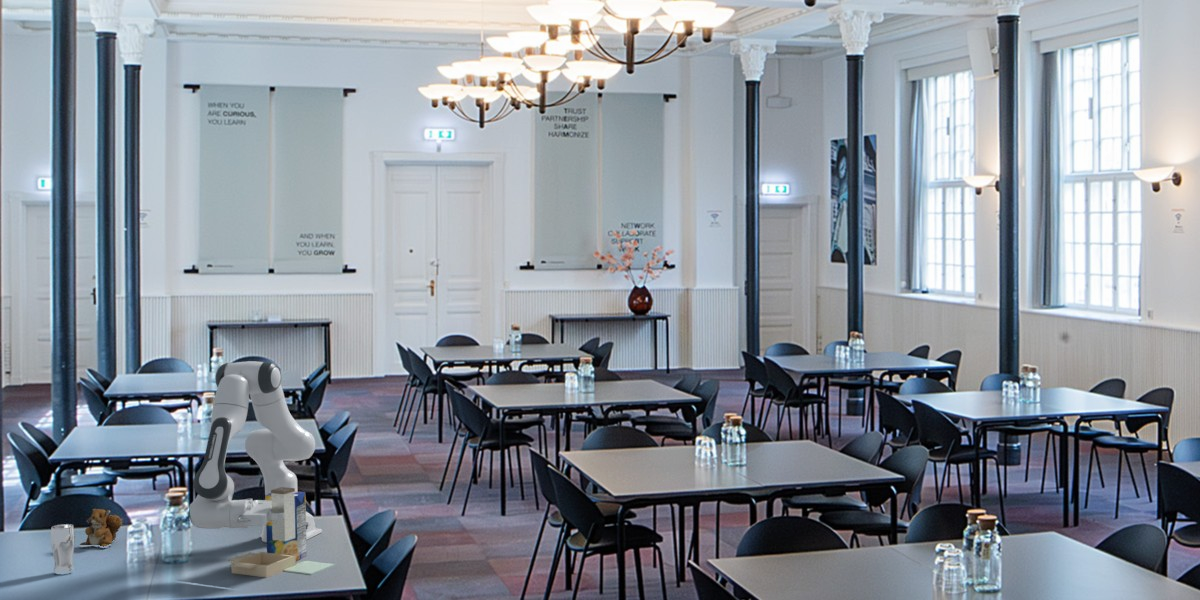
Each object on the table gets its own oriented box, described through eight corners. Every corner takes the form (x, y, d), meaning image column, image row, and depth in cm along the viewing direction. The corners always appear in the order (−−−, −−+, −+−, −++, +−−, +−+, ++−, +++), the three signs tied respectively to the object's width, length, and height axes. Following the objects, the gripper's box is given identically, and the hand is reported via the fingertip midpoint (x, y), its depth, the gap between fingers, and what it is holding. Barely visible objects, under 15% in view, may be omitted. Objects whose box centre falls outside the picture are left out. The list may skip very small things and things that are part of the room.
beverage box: (298, 562, 410) (296, 496, 409) (267, 561, 413) (265, 495, 412) (307, 557, 417) (305, 491, 416) (276, 556, 419) (274, 490, 418)
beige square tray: (254, 563, 411) (253, 551, 411) (295, 568, 403) (295, 556, 403) (217, 576, 395) (217, 563, 395) (260, 581, 388) (259, 569, 388)
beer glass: (53, 576, 397) (51, 529, 396) (51, 571, 403) (49, 525, 403) (76, 573, 400) (75, 527, 400) (74, 568, 407) (73, 523, 406)
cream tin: (283, 536, 404) (281, 486, 403) (295, 537, 401) (294, 488, 401) (272, 539, 399) (270, 490, 398) (285, 541, 397) (283, 491, 396)
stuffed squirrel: (76, 549, 433) (75, 511, 432) (104, 539, 447) (102, 502, 446) (101, 550, 430) (100, 512, 430) (127, 541, 444) (126, 504, 443)
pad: (305, 563, 409) (305, 560, 409) (335, 567, 404) (335, 564, 404) (281, 572, 398) (280, 569, 398) (311, 576, 393) (311, 573, 393)
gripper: (234, 511, 388) (280, 510, 389) (248, 497, 409) (291, 496, 410) (235, 531, 389) (280, 530, 390) (248, 516, 409) (292, 515, 410)
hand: (286, 512), depth 400 cm, fingers closed on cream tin, 7 cm apart
